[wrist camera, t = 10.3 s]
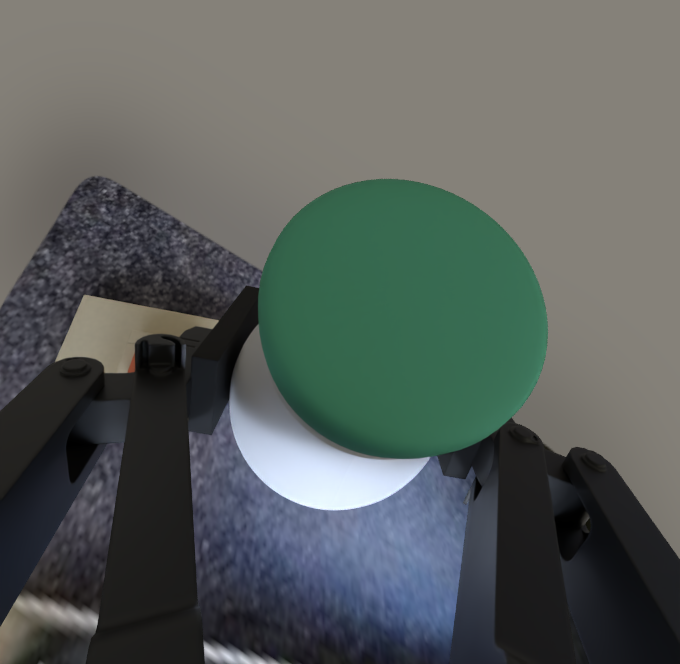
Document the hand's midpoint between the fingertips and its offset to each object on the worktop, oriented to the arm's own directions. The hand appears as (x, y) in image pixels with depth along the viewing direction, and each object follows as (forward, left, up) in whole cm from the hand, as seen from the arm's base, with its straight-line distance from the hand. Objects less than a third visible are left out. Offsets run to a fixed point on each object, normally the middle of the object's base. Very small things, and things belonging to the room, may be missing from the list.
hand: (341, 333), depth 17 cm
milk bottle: (0, -3, -9) cm, 9 cm away
